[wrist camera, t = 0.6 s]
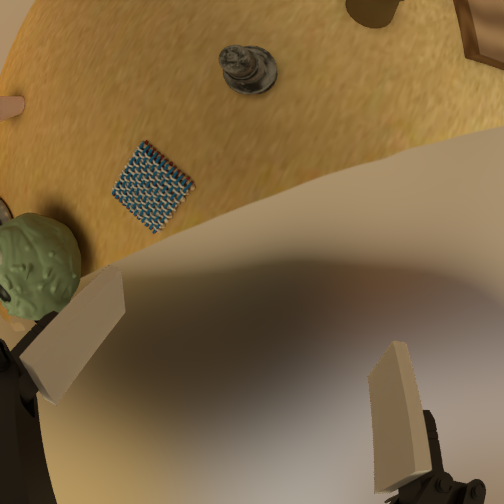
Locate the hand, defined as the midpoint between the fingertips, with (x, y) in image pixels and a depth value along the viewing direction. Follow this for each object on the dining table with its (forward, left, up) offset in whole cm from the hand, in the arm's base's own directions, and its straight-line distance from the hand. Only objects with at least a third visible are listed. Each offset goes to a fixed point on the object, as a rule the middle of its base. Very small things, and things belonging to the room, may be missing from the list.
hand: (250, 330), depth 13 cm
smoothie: (-23, -48, -26) cm, 59 cm away
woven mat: (-1, -19, -27) cm, 33 cm away
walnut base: (-26, +32, -26) cm, 49 cm away
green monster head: (+7, -41, -26) cm, 49 cm away
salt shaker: (-15, -3, -26) cm, 30 cm away
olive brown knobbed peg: (-24, +12, -26) cm, 37 cm away
